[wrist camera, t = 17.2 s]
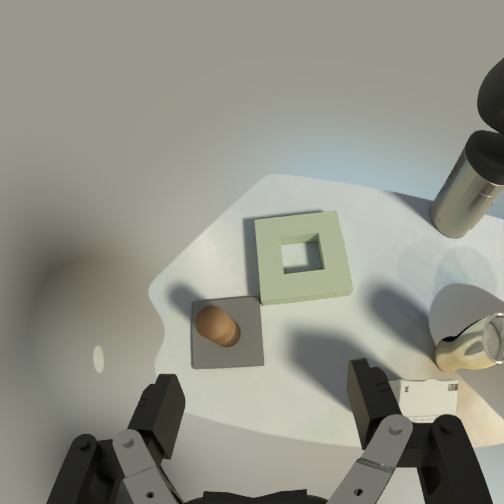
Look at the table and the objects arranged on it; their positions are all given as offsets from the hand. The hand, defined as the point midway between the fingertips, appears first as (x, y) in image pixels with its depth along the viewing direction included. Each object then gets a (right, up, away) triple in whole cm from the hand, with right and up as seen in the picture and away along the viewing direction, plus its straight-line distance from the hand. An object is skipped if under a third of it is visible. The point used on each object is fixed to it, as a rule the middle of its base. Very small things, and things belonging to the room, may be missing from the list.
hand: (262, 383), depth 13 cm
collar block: (+8, +5, +37) cm, 38 cm away
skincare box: (+20, -17, +26) cm, 37 cm away
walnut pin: (-4, -7, +33) cm, 34 cm away
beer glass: (+32, -11, +27) cm, 43 cm away
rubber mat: (-4, -7, +34) cm, 35 cm away
